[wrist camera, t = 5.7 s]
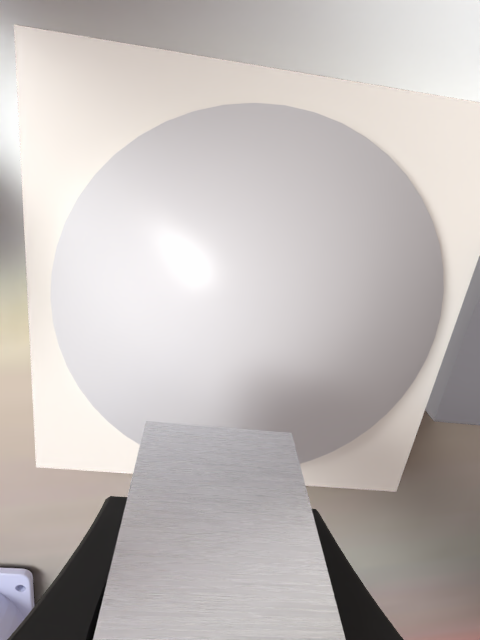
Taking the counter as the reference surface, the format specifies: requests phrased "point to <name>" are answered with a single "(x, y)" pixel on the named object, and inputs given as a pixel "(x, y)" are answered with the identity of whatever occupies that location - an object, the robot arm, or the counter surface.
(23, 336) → the counter surface
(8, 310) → the counter surface
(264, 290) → the scale
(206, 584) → the block
